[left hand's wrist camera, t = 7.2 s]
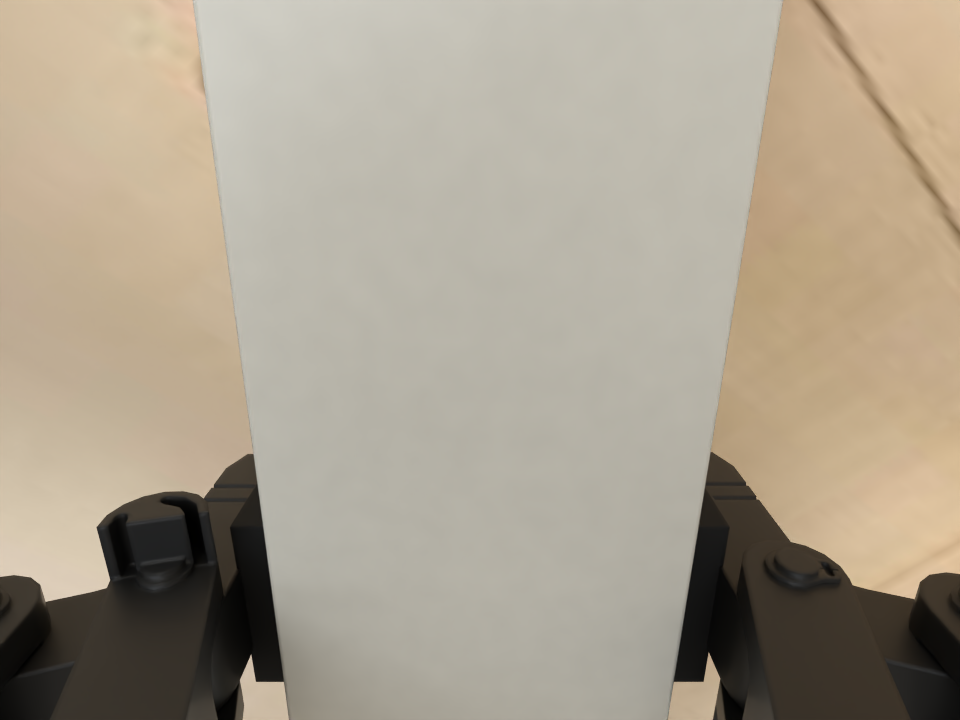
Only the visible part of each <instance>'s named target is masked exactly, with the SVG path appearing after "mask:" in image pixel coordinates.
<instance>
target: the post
mask: <svg viewBox="0 0 960 720" xmlns="http://www.w3.org/2000/svg"><path fill="white" fill-rule="evenodd" d="M782 4H783V0H193V5H194V13H195V20H196V28H197V35H198V43H199V50H200V58H201V65H202V73H203V80H204V87H205V95H206V102H207V110H208V117H209V125H210V132H211V140H212V147H213V155H214V162H215V170H216V177H217V185H218V192H219V199H220V207H221V214H222V222H223V229H224V237H225V244H226V252H227V259H228V267H229V274H230V282H231V289H232V297H233V304H234V312H235V319H236V326H237V334H238V341H239V349H240V356H241V364H242V371H243V379H244V386H245V394H246V401H247V409H248V416H249V424H250V431H251V438H252V446H253V453H254V461H255V468H256V476H257V483H258V491H259V498H260V506H261V513H262V521H263V528H264V536H265V543H266V551H267V558H268V565H269V573H270V580H271V588H272V595H273V603H274V610H275V618H276V625H277V633H278V640H279V648H280V655H281V663H282V670H283V677H284V685H285V692H286V700H287V707H288V715H289V720H668V713H669V707H670V701H671V695H672V688H673V682H674V676H675V670H676V664H677V657H678V651H679V645H680V639H681V632H682V626H683V620H684V614H685V608H686V601H687V595H688V589H689V583H690V576H691V570H692V564H693V558H694V552H695V545H696V539H697V533H698V527H699V520H700V514H701V508H702V502H703V496H704V489H705V483H706V477H707V471H708V464H709V458H710V452H711V446H712V440H713V433H714V427H715V421H716V415H717V408H718V402H719V396H720V390H721V384H722V377H723V371H724V365H725V359H726V352H727V346H728V340H729V334H730V328H731V321H732V315H733V309H734V303H735V296H736V290H737V284H738V278H739V272H740V265H741V259H742V253H743V247H744V240H745V234H746V228H747V222H748V216H749V209H750V203H751V197H752V191H753V184H754V178H755V172H756V166H757V160H758V153H759V147H760V141H761V135H762V128H763V122H764V116H765V110H766V104H767V97H768V91H769V85H770V79H771V72H772V66H773V60H774V54H775V48H776V41H777V35H778V29H779V23H780V16H781V10H782Z"/></svg>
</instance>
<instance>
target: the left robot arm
mask: <svg viewBox="0 0 960 720" xmlns="http://www.w3.org/2000/svg"><path fill="white" fill-rule="evenodd" d="M97 531H98V534H99V538H100V542H101V546H102V550H103V553H104V557H105V561H106V565H107V569H108V573H109V576H110V582H109V585H108V587H107V588H106V589H102V590H98V591H95V592H91V593H86V594H81V595H77V596H72V597H67V598H62V599H58V600H53V601H48V602H45V599H44V596H43V593H42V589H41V586H40V584H38V583H37V582H36V581H34V580H33V579H32V578H30V577H23V576H15V575H13V576H5V577H0V720H242V719H243V710H244V702H243V696H242V690H241V684H240V678H241V676H242V674H243V672H244V669H245V667H246V665H247V662H248V660H249V658H250V655H252V661H253V666H254V672H255V678H256V682H284V677H283V670H282V663H281V655H280V648H279V640H278V633H277V625H276V618H275V610H274V603H273V595H272V588H271V580H270V573H269V565H268V558H267V551H266V543H265V536H264V528H263V521H262V513H261V506H260V498H259V491H258V483H257V476H256V468H255V461H254V454H247V455H246V456H244V457H243V458H241V459H240V460H238V461H237V462H235V463H234V464H232V465H231V466H229V467H228V468H226V469H225V471H224V472H223V473H222V475H221V476H220V477H219V479H218V480H217V481H216V483H215V484H214V488H211V489H210V491H209V492H208V493H207V495H206V496H205V498H204V499H203V498H202V497H201V496H199V495H197V494H193V493H188V492H184V491H181V492H162V493H158V494H153V495H149V496H144V497H141V498H139V499H136V500H134V501H131V502H129V503H126V504H124V505H122V506H121V507H119V508H118V509H116V510H114V511H113V512H111V513H110V514H108V515H107V516H106V517H105V518H104V519H103V520H102V522H101V523H100V524H99V525H98V526H97ZM708 652H709V653H710V656H711V658H712V660H713V662H714V665H715V667H716V669H717V672H718V674H719V676H720V678H721V679H720V684H719V690H718V695H717V701H716V706H715V711H714V717H713V720H960V574H954V573H939V574H932V575H929V576H927V577H926V578H925V579H924V580H922V581H921V582H920V584H919V588H918V591H917V594H916V597H915V599H910V598H905V597H901V596H896V595H891V594H886V593H882V592H877V591H872V590H867V589H864V588H860V587H857V586H853V585H852V583H851V581H850V579H849V578H848V576H847V575H846V574H845V572H844V571H843V569H842V568H841V567H840V566H839V565H838V564H836V563H835V562H834V561H832V560H831V559H830V558H828V557H827V556H826V555H824V554H822V553H820V552H818V551H816V550H813V549H811V548H809V547H807V546H804V545H800V544H796V543H792V542H790V541H789V539H788V538H787V537H786V535H785V534H784V533H783V531H782V530H781V529H780V527H779V526H778V525H777V523H776V522H775V521H774V519H773V518H772V517H771V515H770V514H769V513H768V511H767V510H766V509H765V507H764V506H763V505H762V503H761V502H760V501H759V500H756V495H755V494H754V493H753V491H752V490H751V489H750V487H749V486H746V482H745V481H744V479H743V478H742V477H741V475H740V474H739V473H738V471H737V470H736V469H735V467H734V466H732V465H731V464H729V463H728V462H726V461H725V460H723V459H722V458H720V457H719V456H717V455H716V454H714V453H712V452H710V458H709V464H708V471H707V477H706V483H705V489H704V496H703V502H702V508H701V514H700V520H699V527H698V533H697V539H696V545H695V552H694V558H693V564H692V570H691V576H690V583H689V589H688V595H687V601H686V608H685V614H684V620H683V626H682V632H681V639H680V645H679V651H678V657H677V664H676V670H675V676H674V682H704V676H705V670H706V664H707V658H708Z"/></svg>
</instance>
